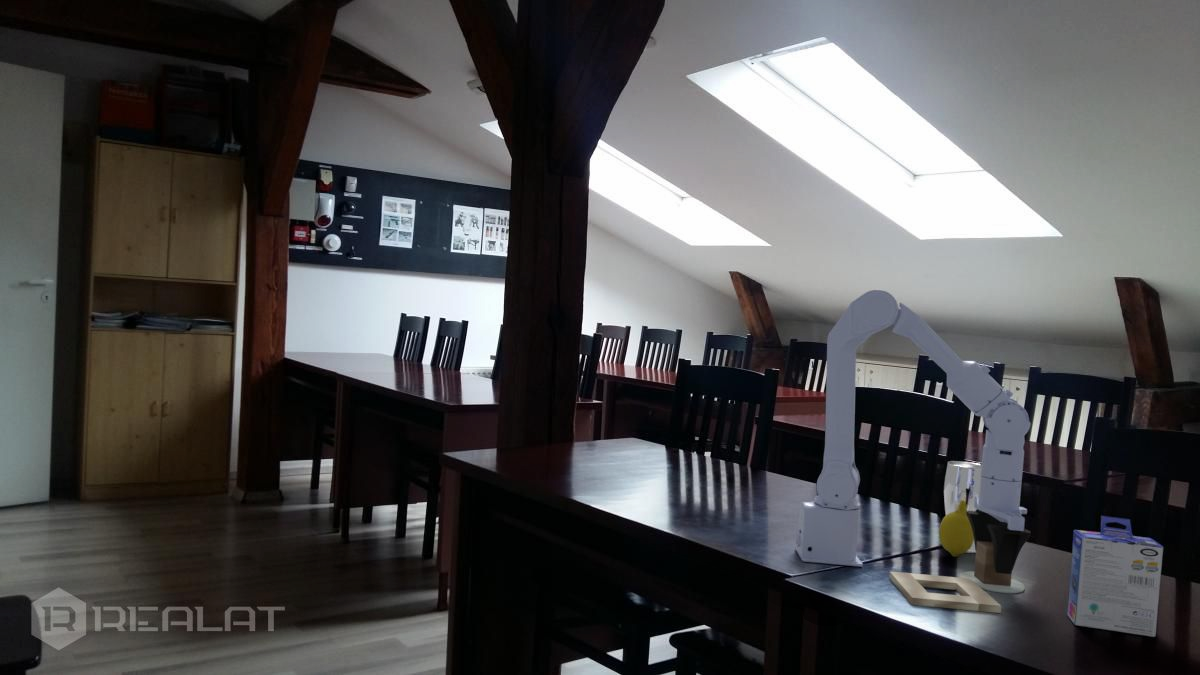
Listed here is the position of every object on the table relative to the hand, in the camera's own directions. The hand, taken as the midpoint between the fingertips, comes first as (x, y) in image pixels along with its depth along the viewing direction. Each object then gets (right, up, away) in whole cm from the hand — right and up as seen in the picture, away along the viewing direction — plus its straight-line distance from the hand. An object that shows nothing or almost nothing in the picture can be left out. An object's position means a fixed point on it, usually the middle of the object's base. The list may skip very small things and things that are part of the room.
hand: (993, 565), depth 132 cm
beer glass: (+3, -3, +20) cm, 20 cm away
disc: (0, -3, 0) cm, 3 cm away
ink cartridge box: (+9, -4, -16) cm, 18 cm away
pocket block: (-11, -2, -7) cm, 13 cm away
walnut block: (0, -2, 0) cm, 2 cm away
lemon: (0, -3, +14) cm, 14 cm away
